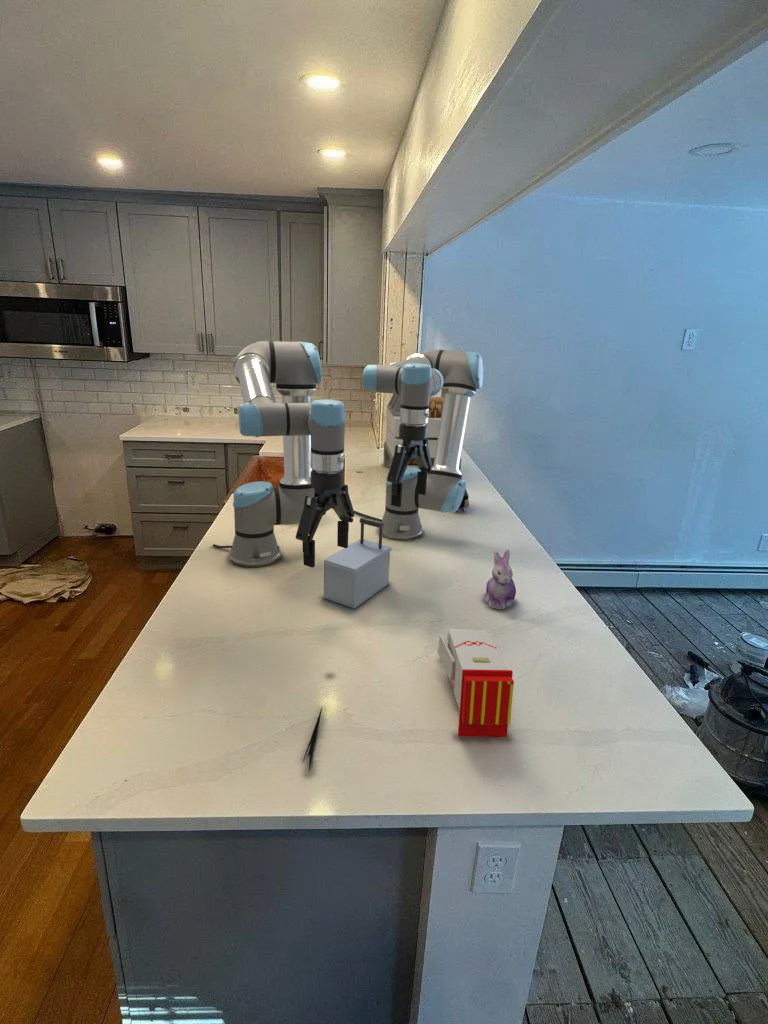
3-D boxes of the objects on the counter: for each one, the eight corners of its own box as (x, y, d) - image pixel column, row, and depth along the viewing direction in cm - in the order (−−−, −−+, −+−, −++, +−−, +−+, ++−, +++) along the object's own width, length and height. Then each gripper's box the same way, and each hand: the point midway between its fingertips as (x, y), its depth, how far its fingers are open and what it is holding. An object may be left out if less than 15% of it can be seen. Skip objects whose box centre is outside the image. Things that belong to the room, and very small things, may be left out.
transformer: (382, 463, 289) (386, 382, 275) (445, 464, 293) (451, 384, 279) (390, 482, 257) (394, 392, 243) (460, 483, 261) (468, 394, 247)
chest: (359, 574, 168) (360, 543, 165) (388, 583, 163) (390, 551, 160) (323, 597, 154) (323, 563, 151) (354, 608, 149) (355, 574, 146)
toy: (488, 613, 130) (523, 677, 101) (484, 667, 133) (517, 744, 104) (435, 612, 130) (455, 676, 101) (432, 666, 133) (451, 743, 103)
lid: (361, 542, 165) (361, 513, 162) (391, 551, 160) (392, 521, 157) (323, 563, 151) (323, 532, 148) (355, 573, 146) (356, 541, 143)
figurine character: (469, 517, 223) (463, 501, 236) (471, 500, 219) (465, 484, 233) (452, 516, 222) (447, 500, 236) (454, 499, 219) (449, 483, 232)
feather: (331, 679, 122) (336, 673, 122) (307, 777, 96) (313, 769, 95) (324, 675, 122) (329, 669, 121) (298, 772, 95) (304, 764, 95)
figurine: (497, 613, 149) (504, 562, 144) (474, 596, 158) (480, 547, 153) (525, 606, 154) (532, 556, 149) (501, 590, 162) (508, 542, 157)
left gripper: (306, 485, 116) (307, 579, 123) (370, 461, 137) (367, 542, 144) (278, 479, 120) (280, 570, 127) (344, 456, 140) (342, 536, 147)
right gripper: (401, 432, 139) (396, 514, 146) (447, 419, 158) (441, 492, 166) (375, 428, 142) (372, 508, 149) (424, 416, 162) (419, 486, 169)
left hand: (326, 555), depth 135 cm, fingers open, 13 cm apart
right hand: (408, 499), depth 158 cm, fingers open, 13 cm apart
